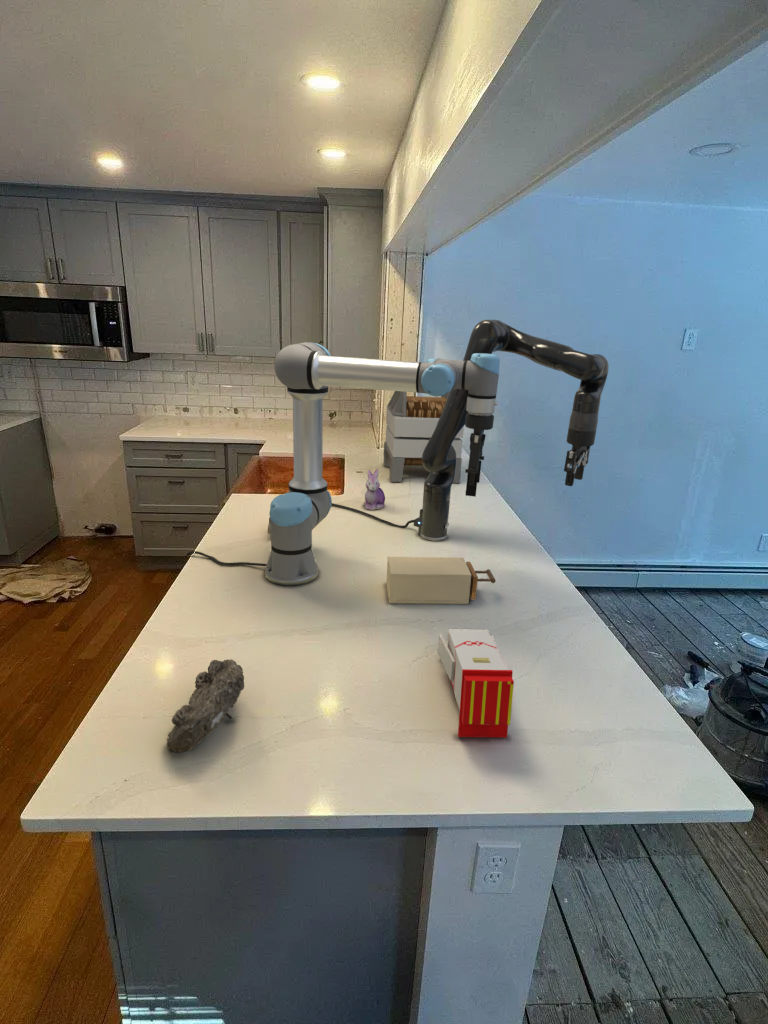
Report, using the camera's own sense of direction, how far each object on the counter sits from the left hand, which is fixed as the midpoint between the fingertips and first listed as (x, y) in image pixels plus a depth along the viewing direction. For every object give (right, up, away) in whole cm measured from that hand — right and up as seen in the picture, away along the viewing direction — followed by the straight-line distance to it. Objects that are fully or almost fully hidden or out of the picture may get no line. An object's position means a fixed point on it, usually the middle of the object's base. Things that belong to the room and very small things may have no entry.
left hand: (472, 488), depth 160 cm
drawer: (-8, -29, -1) cm, 30 cm away
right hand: (+30, +2, +6) cm, 31 cm away
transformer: (-8, +12, +115) cm, 116 cm away
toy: (-7, -44, -41) cm, 61 cm away
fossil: (-58, -46, -52) cm, 90 cm away
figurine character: (-61, -14, +36) cm, 72 cm away
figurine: (-29, -4, +66) cm, 72 cm away
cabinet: (-13, -29, -1) cm, 32 cm away
